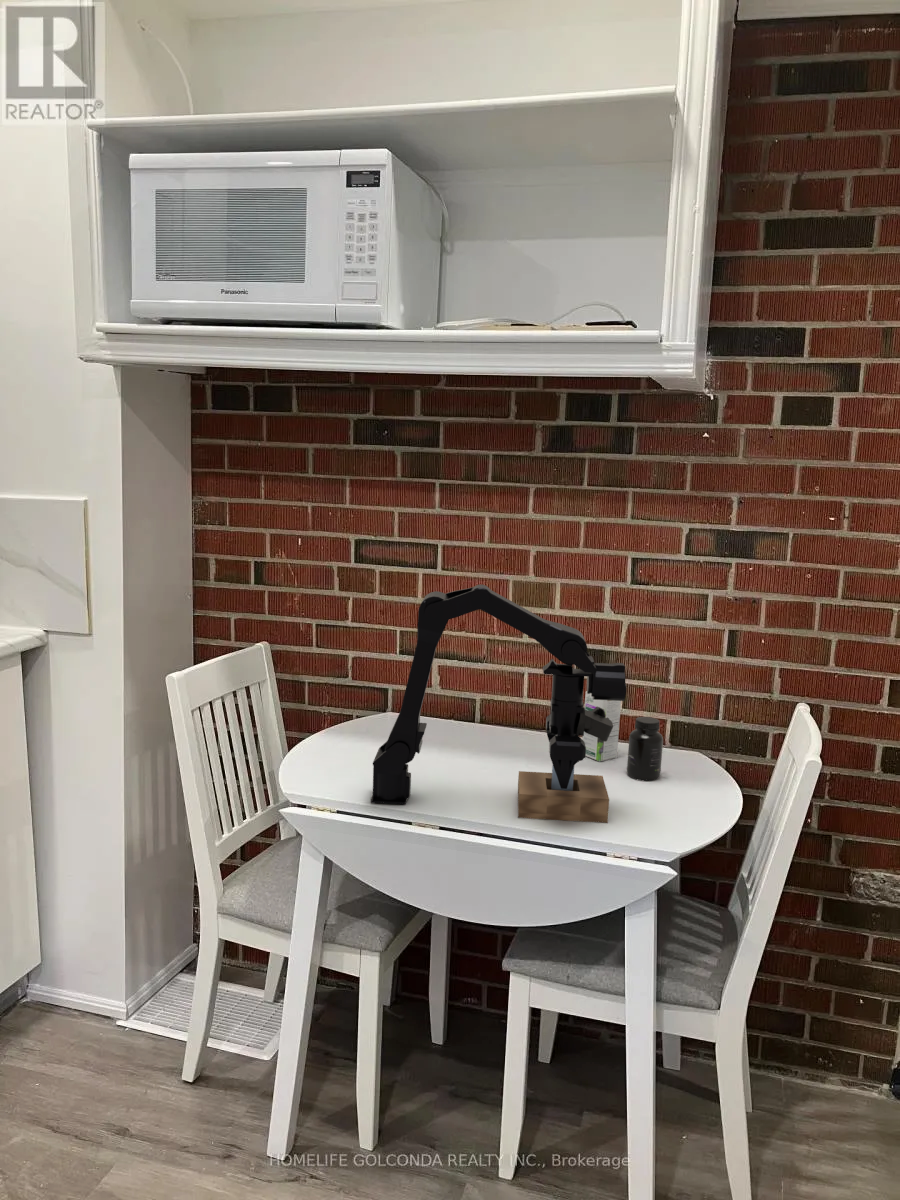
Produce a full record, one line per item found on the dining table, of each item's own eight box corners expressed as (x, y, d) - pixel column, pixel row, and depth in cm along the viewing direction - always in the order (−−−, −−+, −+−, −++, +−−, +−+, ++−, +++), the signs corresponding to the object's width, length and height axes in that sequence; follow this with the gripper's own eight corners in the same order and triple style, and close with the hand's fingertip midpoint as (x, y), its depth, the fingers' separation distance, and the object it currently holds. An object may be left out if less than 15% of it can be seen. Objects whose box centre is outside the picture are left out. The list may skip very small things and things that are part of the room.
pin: (551, 806, 175) (553, 753, 173) (550, 797, 179) (552, 746, 177) (572, 807, 174) (575, 755, 173) (571, 799, 178) (574, 748, 177)
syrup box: (580, 754, 207) (584, 690, 205) (599, 750, 211) (603, 686, 208) (599, 762, 203) (603, 696, 200) (618, 757, 206) (622, 692, 204)
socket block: (518, 817, 171) (519, 794, 170) (517, 793, 183) (518, 771, 182) (607, 822, 170) (609, 798, 170) (601, 798, 182) (602, 775, 181)
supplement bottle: (619, 774, 195) (623, 718, 193) (638, 767, 200) (642, 712, 198) (648, 784, 191) (652, 726, 189) (666, 776, 195) (671, 720, 193)
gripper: (617, 714, 164) (611, 800, 166) (606, 687, 182) (601, 765, 184) (552, 711, 164) (547, 797, 167) (548, 684, 182) (543, 761, 185)
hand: (562, 779), depth 176 cm, fingers open, 9 cm apart
